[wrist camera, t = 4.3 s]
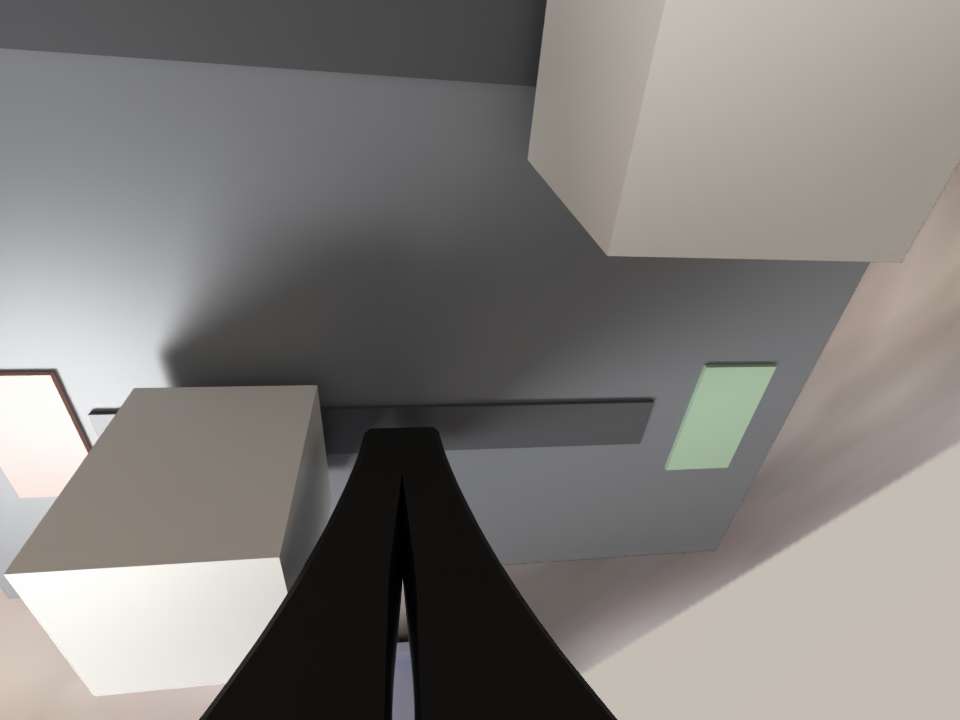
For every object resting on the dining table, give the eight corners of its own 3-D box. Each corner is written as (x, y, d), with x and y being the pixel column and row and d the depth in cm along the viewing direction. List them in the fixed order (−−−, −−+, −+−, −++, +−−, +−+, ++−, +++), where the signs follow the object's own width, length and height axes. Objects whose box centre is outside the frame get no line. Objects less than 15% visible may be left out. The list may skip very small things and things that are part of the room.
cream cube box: (718, 169, 8) (900, 263, 5) (527, 159, 7) (606, 256, 5) (802, -89, 6) (1148, -172, 3) (561, -122, 6) (721, -250, 3)
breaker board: (691, 508, 16) (717, 553, 15) (45, 544, 13) (6, 603, 12) (1050, -273, 7) (1199, -337, 6) (-702, -637, 4) (-1178, -915, 3)
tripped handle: (331, 499, 11) (307, 675, 8) (178, 505, 10) (93, 696, 8) (317, 385, 9) (279, 557, 6) (134, 388, 9) (3, 574, 6)
